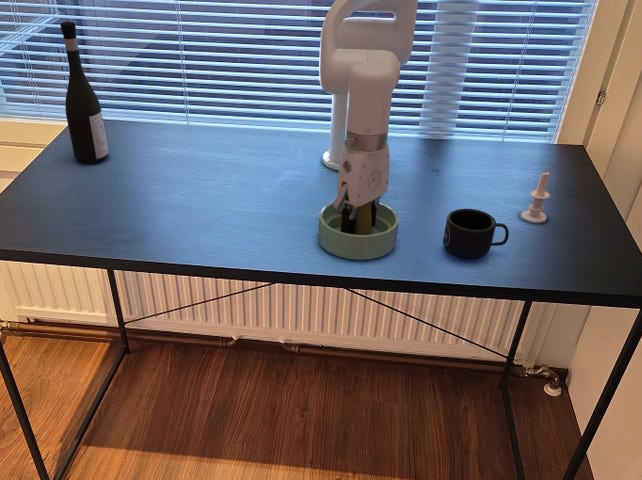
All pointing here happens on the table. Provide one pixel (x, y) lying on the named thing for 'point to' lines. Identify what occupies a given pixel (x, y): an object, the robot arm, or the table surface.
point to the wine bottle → (82, 107)
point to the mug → (470, 234)
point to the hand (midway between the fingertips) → (357, 228)
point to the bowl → (358, 244)
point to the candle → (537, 202)
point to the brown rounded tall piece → (363, 219)
